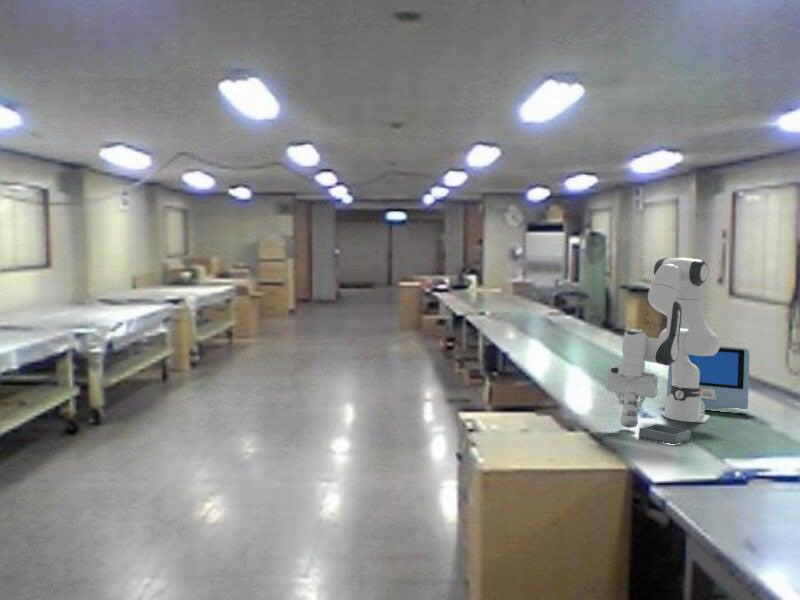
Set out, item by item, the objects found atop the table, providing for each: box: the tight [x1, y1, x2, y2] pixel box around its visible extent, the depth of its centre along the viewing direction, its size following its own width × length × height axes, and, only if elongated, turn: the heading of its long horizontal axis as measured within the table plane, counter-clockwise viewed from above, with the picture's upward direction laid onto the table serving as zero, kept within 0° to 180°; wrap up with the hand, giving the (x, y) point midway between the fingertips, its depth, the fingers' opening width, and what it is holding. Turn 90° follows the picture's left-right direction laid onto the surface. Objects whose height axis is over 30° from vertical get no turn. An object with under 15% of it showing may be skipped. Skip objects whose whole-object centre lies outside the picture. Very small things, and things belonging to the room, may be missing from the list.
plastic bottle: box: [619, 380, 640, 429], centre depth 310 cm, size 6×7×20 cm
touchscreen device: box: [666, 345, 750, 409], centre depth 373 cm, size 35×20×30 cm, turn 73°
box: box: [638, 423, 692, 445], centre depth 298 cm, size 14×14×4 cm
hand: (630, 405), depth 310 cm, fingers closed on plastic bottle, 6 cm apart
